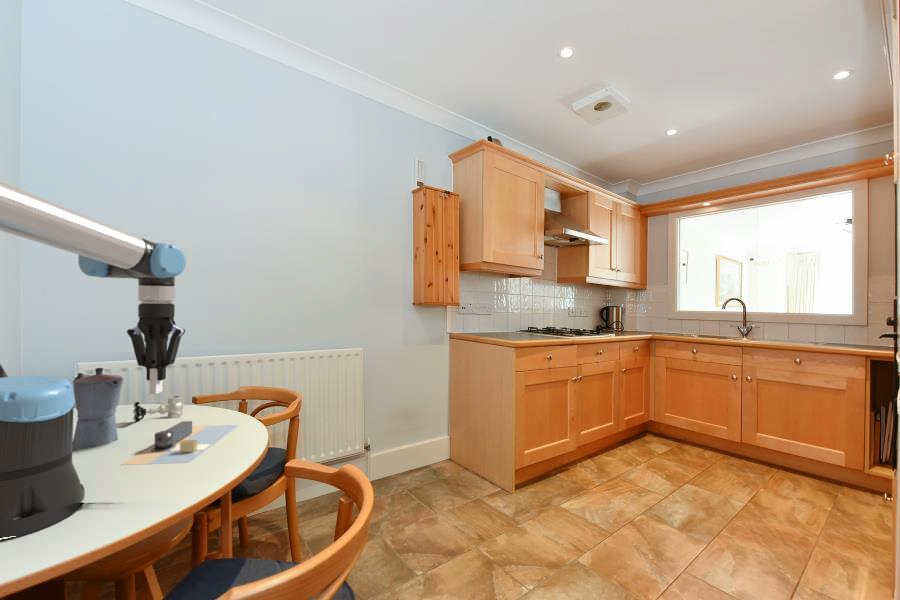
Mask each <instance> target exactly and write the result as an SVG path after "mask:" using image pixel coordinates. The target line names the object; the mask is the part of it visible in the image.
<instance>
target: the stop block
mask: <svg viewBox="0 0 900 600" xmlns="http://www.w3.org/2000/svg"><path fill="white" fill-rule="evenodd" d="M196 451H197V440H184V441H182V442H181V443H180V453H194V452H196Z"/></svg>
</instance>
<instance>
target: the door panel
mask: <svg viewBox="0 0 900 600" xmlns="http://www.w3.org/2000/svg"><path fill="white" fill-rule="evenodd" d="M239 426H240V424H230V425H229V424H226V425H222V424H221V425H219V424H218V425H217V424H216V425H192V433H191V434H190V435H188V436H186V437H185V438H183V439H182V440H180V441H178V442H177V443H175V444H174V445H173V447H171V448H168V449H165V450H155V449H154V445H153V446H151V447H150V448H147V449H146V450H144V451H142V452H141V453H139V454H137V455H136V456H134V457H131V458H130V459H128V460H126V461H125V462H123V463H122V464H120V466H127V465H128V466H129V465H132V466H133V465H136V466H137V465H159V464H160V465H161V464H163V465H164V464H186V463H187V464H188V463H191V462H192V461H194V460H195V459H196V458H198V457H199V456H201V455H202V454H203V453H204V452H206V451H208V449H210V448H211V447H212V446H214V445H215V444H216V443H218V442H220V440H222V439H223V438H224V437H226V436H227V435H228V434H230V433H231V432H233V430H235V429H237V428H238V427H239ZM184 440H197V451H196V452H194V453H180V443H181V442H182V441H184Z"/></svg>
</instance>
